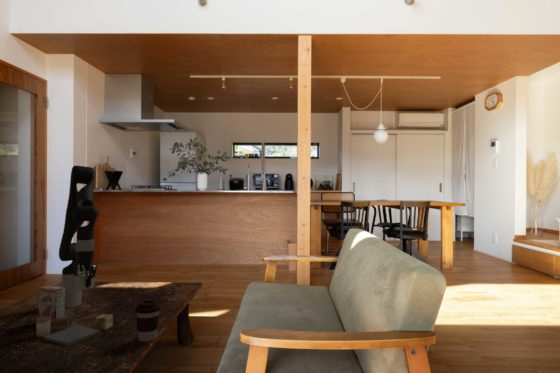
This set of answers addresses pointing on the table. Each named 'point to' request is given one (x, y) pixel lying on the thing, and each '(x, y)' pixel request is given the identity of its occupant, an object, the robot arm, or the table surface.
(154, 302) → the coffee cup
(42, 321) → the cream jar
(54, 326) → the walnut block
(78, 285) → the sage block
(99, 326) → the oak cube
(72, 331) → the board
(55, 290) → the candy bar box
